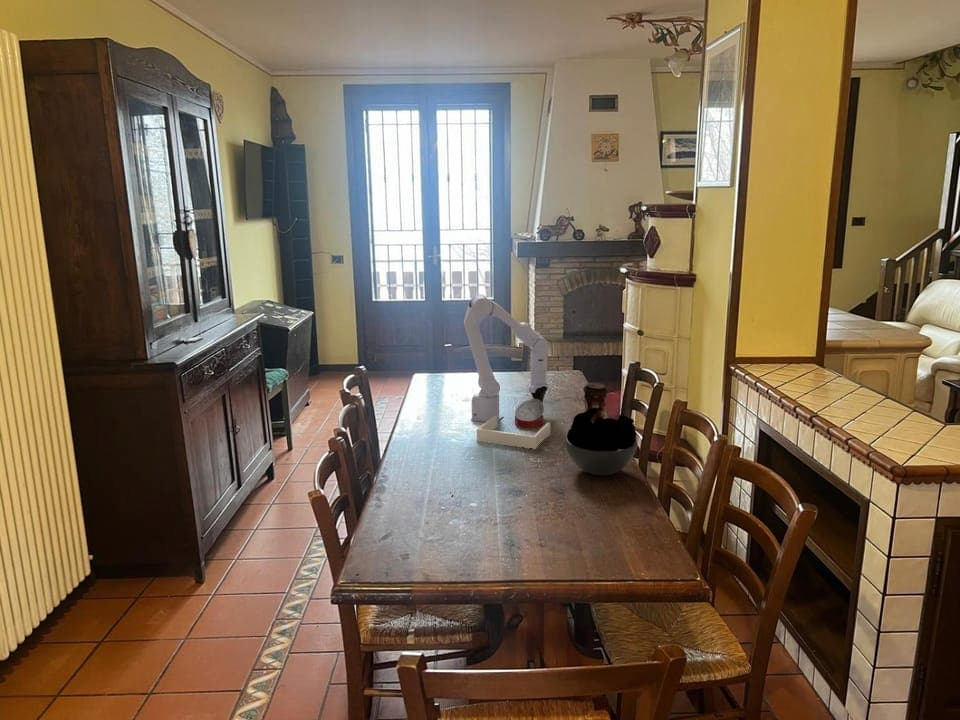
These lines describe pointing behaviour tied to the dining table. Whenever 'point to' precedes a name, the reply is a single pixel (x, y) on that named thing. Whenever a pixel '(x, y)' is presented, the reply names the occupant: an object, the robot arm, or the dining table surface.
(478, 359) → the robot arm
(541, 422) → the canned food
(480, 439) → the box
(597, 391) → the coffee cup
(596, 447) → the bowl of black rocks
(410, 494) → the dining table surface
